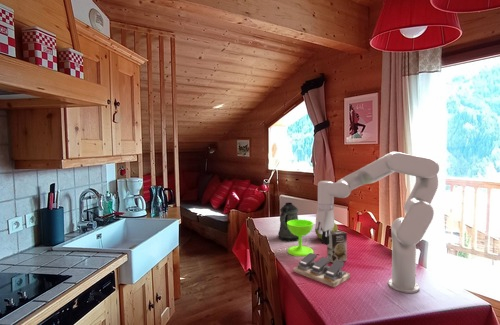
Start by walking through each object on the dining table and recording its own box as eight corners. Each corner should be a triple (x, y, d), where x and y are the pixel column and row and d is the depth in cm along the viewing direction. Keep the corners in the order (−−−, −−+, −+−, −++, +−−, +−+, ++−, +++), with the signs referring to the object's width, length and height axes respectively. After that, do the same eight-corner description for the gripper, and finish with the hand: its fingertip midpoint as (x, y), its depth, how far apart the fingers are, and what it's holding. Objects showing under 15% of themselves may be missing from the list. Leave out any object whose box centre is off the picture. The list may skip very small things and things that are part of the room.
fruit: (338, 244, 193) (327, 225, 191) (319, 248, 201) (308, 229, 199) (343, 230, 206) (333, 212, 204) (325, 234, 214) (315, 217, 212)
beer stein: (300, 234, 215) (300, 200, 214) (303, 243, 196) (302, 206, 195) (278, 234, 217) (277, 200, 216) (278, 242, 198) (277, 206, 196)
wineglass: (313, 257, 171) (313, 226, 170) (286, 255, 175) (285, 226, 174) (313, 247, 187) (313, 219, 186) (288, 246, 190) (287, 219, 189)
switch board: (310, 263, 162) (309, 254, 162) (350, 277, 144) (349, 267, 144) (293, 271, 153) (293, 262, 152) (334, 287, 135) (334, 276, 135)
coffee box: (332, 263, 162) (332, 234, 161) (326, 259, 168) (326, 231, 167) (347, 261, 165) (347, 232, 164) (340, 257, 171) (340, 229, 170)
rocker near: (336, 262, 147) (335, 260, 147) (344, 264, 144) (343, 262, 143) (325, 274, 141) (325, 272, 141) (333, 277, 138) (333, 275, 137)
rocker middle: (322, 258, 153) (322, 256, 153) (330, 261, 150) (329, 258, 149) (311, 269, 147) (311, 266, 147) (319, 271, 143) (318, 269, 143)
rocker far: (310, 254, 159) (309, 252, 159) (317, 256, 156) (316, 254, 155) (299, 264, 153) (298, 262, 152) (306, 266, 149) (305, 264, 149)
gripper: (327, 203, 150) (327, 238, 151) (310, 207, 139) (310, 245, 140) (340, 205, 144) (340, 242, 145) (323, 210, 134) (323, 249, 135)
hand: (325, 243), depth 143 cm, fingers closed
